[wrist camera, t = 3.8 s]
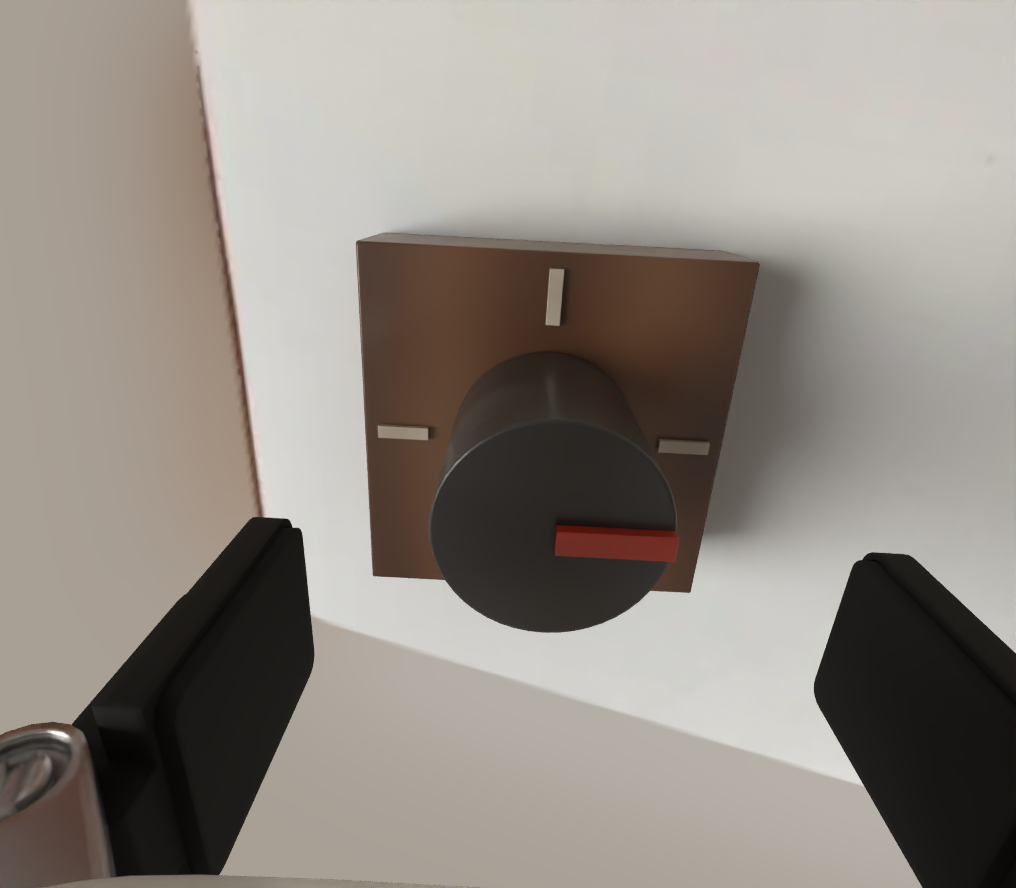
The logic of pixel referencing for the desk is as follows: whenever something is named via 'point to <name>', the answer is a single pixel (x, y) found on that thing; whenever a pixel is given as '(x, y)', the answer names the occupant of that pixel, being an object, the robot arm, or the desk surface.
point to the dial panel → (542, 328)
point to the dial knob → (550, 498)
